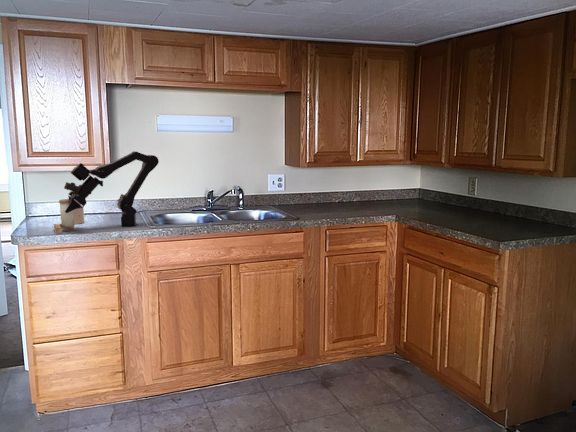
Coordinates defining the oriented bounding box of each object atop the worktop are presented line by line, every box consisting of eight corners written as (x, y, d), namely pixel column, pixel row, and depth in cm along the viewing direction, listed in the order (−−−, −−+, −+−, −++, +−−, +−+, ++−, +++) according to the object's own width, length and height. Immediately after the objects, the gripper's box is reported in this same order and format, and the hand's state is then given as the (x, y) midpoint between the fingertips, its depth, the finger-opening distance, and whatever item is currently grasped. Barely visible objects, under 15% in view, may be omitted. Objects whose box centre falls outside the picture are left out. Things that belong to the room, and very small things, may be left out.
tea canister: (76, 223, 245) (74, 198, 243) (72, 226, 239) (70, 200, 237) (63, 224, 245) (61, 199, 243) (59, 226, 239) (57, 200, 237)
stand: (74, 228, 249) (73, 222, 249) (77, 232, 239) (77, 226, 239) (54, 230, 245) (53, 224, 244) (56, 234, 235) (56, 227, 234)
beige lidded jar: (70, 221, 269) (68, 200, 267) (87, 221, 269) (85, 199, 267) (60, 225, 257) (59, 203, 255) (78, 225, 257) (77, 202, 256)
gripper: (71, 174, 249) (48, 198, 245) (76, 177, 233) (52, 203, 229) (89, 189, 254) (67, 213, 250) (96, 193, 238) (72, 218, 234)
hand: (64, 211), depth 241 cm, fingers closed on tea canister, 6 cm apart
